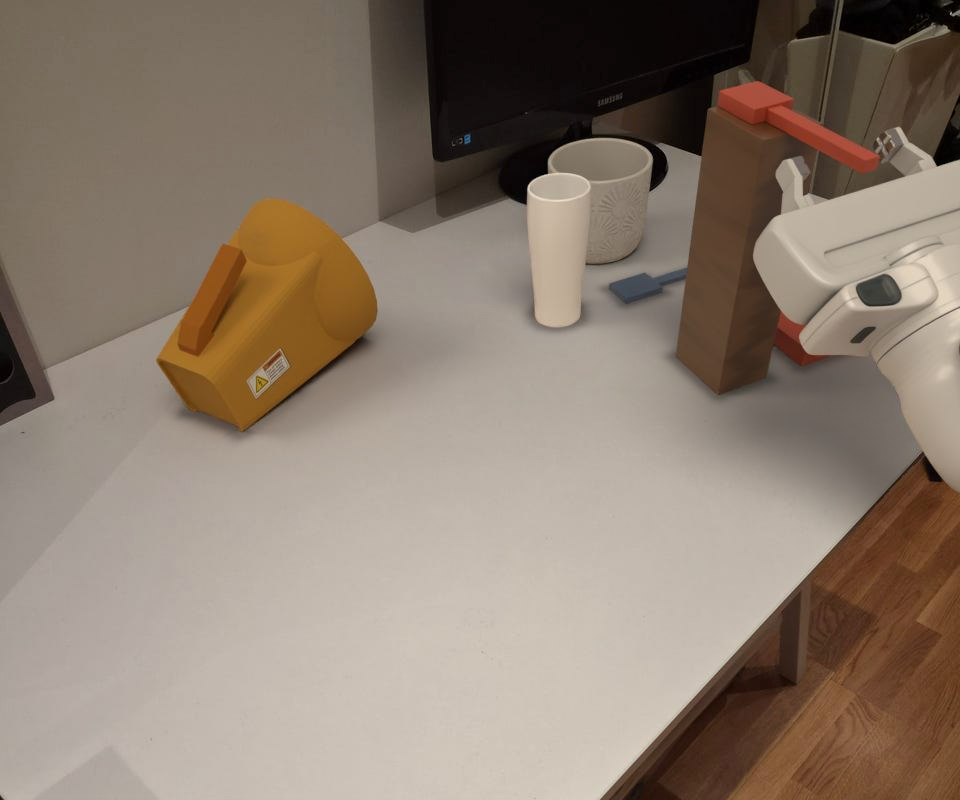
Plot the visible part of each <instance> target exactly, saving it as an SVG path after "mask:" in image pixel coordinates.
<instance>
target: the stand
mask: <svg viewBox="0 0 960 800" xmlns="http://www.w3.org/2000/svg"><path fill="white" fill-rule="evenodd" d="M792 111H793V112H795V113H797V114H799V115H801V116H803V117H805V118H807V119H809V120H811V121H813V122H815V123H816V124H818V125H820V126H822V127H824V123H823V122H821V121H819V120H817V119H816V118H813V117H812V116H809V115H807V114H806V113H803V112H802V111H800V110H797V109H796V108H794V107H792ZM703 134H704V135H703V143H702V150H701V158H700V167H699V173H698V182H697V190H696V197H695V204H694V213H693V220H692V227H691V235H690V244H689V250H688V256H687V257H688V258H687V264H686V266H687V267H686V268H687V273H686V279H685V281H684V288H683V296H682V305H681V310H680V311H681V312H680V319H679V327H678V333H677V334H678V336H677V343H676V351H675V359H677V360H678V361H679V362H680V363H681V364H682V365H684V367H686V368H687V369H688V370H689V371H690V372H691V373H692V374H694V375H695V376H696V377H697V378H698V379H699V380H700V381H701V382H702V383H703V384H705V385H706V387H708V388H709V389H710V390H711V391H713V392H714V393H715V394H716V395H717V396H720V395H723V394H726V393H728V392H731V391H734V390H737V389H740V388H742V387H743V388H744V387H746V386H748V385H750V384H755V383H756V382H759V381H763V380H765V379H767V375H768V371H769V367H770V362H771V358H772V354H773V353H772V352H773V350H774V340H775V336H776V332H777V327H778V323H779V318H780V314H781V310H780V308H779V307H778V305H777V304H776V302H775V301H774V299H773V297H772V296H771V294H770V292H769V291H768V289H767V287H766V285H765V283H764V282H763V280H762V278H761V276H760V274H759V272H758V270H757V268H756V265H755V263H754V259H753V252H754V247H755V243H756V241H757V239H758V238H759V236H760V235H761V233H762V232H763V230H764V229H765V228H766V226H767V225H768V224H769V222H770V221H771V220H772V219H773V218H774V217H776V216H778V215H781V208H782V195H783V190H782V188H781V187H780V185H779V183H778V181H777V179H776V170H777V169H778V167H779V166H780V164H781V163H782V161H783V160H787V159H790V158H794V157H797V156H802V157H803V158H804V163H805V164H806V165H807V166H808V168H809V170H810V174H809V175H808V177H807V178H806V179H805V180H804V181H803V197H804V195H807V194H809V189H810V185H811V180H812V177H813V173H814V172H813V171H814V168H815V163H816V160H817V155H818V152H819V150H817V149H815V148H813V147H812V146H810V145H808V144H806V143H804V142H802V141H800V140H799V139H797V138H795V137H793V136H791V135H789V134H788V133H786V132H784V131H782V130H780V129H778V128H776V127H775V126H773V125H771V124H769V123H767V122H766V121H764V122H760V123H757V124H753V125H751V124H750V123H748V122H746V121H744V120H742V119H741V118H739V117H737V116H735V115H733V114H732V113H730V112H728V111H726V110H724V109H723V108H721V107H719V106H718V105H716V106H713V107H710V108H708V109H707V112H706V119H705V128H704V133H703Z"/></svg>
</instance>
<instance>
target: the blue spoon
mask: <svg viewBox="0 0 960 800" xmlns="http://www.w3.org/2000/svg"><path fill="white" fill-rule="evenodd" d="M686 273H687V267H685V268H681V269H678V270H675V271H672V272H668V273H665V274H662V275H658V276H655V277H651V276H650V275H649V274H647V273H646V272H642V273H639V274H635V275H633V276H629V277H626V278H623V279H619V280H616V281H613V282H610V283H609V284H608V285H609V286H608V290H610V291H611V293H612V294H614V295H615V296H616V297H617V298H618V299H620V300H621V301H622V302H623V303H624V304H626V305H627V304H631V303H634V302H637V301H640V300H644V299H646V298H649V297H650V298H651V297H653V296H656V295H659V294H663V289H664V286H667V285H669V284H673V283H676V282H679V281H682V280H684V279H685V280H686Z"/></svg>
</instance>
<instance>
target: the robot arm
mask: <svg viewBox="0 0 960 800" xmlns="http://www.w3.org/2000/svg"><path fill="white" fill-rule="evenodd" d="M872 150H873V151H874V152H873V153H875V154H877V155H879V156H880V158H879V163H880V164H885V163H890V165H892V166H893V167H894V168H895V169H896V170H898V172H900V173H901V174H902V175H903V176H902V177H899V178H896V179H892V180H889V181H886V182H883V183H879V184H877V185H876V184H875V185H873V186H869V187H867V188H863V189H860V190H857V191H854V192H850V193H846V194H844V195H841V196H837V197H833V198H831V199H827V200H824V201H821V202H817V203H815V201H814V199H813V198H812V195H811V194H809V193H808V194H807V195H804V197H803V181H804V180H805V179H806V178H807V177H808V175H809V174H810V170H809V168H808V166H807V165H806V164H805V163H804V158H803V157H802V156H797V157H794V158H790V159H787V160H783V161H782V163H781V164H780V166H779V167H778V169H777V170H776V179H777V181H778V183H779V185H780V187H781V188H782V190H783V195H782V208H781V215H778V216H776V217H774V218H773V219H772V220H771V221H770V222H769V224H768V225H767V226H766V228H765V229H764V230H763V232H762V233H761V235H760V236H759V238H758V239H757V241H756V243H755V247H754V252H753V259H754V263H755V265H756V268H757V270H758V272H759V274H760V276H761V278H762V280H763V282H764V283H765V285H766V287H767V289H768V291H769V292H770V294H771V296H772V297H773V299H774V301H775V302H776V304H777V305H778V307H779V308H780V310H781V311H782V312H783V314H784V315H785V316H786V317H787V318H788V319H790V320H791V321H793V322H794V323H797V324H800V325H806V326H805V327H804V329H803V330H802V331H801V333H800V334H799V340H800V342H801V345H802V346H803V348H804V350H805V351H806V352H807V353H808V354H811V355H833V356H857V357H863V358H866V357H867V358H868V357H872V359H873V360H874V362H875V365H876V367H877V368H878V370H879V371H880V373H881V374H882V376H885V378H887V380H889V381H890V383H891V384H892V385H893V387H894V389H895V391H896V393H897V395H898V399H899V404H900V410H901V411H900V412H901V414H902V416H903V419H904V421H905V422H906V424H907V426H908V428H909V429H910V432H911V433H912V435H913V437H914V438H915V440H916V442H917V444H918V445H919V448H920V449H921V450H922V452H923V454H924V455H925V457H926V459H927V460H928V462H929V463H930V464H931V466H932V467H933V469H934V470H935V472H936V473H937V474H938V475H939V477H940V478H941V479H942V481H944V483H945V484H946V485H947V486H948V487H949V488H950V489H952V490H953V491H955V492H956V493H959V494H960V159H958V160H953V161H951V162H948V163H945V164H941V165H939V166H937V164H936V162H935V160H934V158H933V156H932V155H930V154H928V153H927V152H925V151H924V150H923V149H921V148H919V147H918V146H916V145H915V144H913V143H912V142H909V140H908V138H907V136H906V135H905V133H904V131H903V129H902V128H901V127H900V126H896V127H893V128H890V129H885V130H883V131H881V132H880V134H879V135H878V137H876V138H875V140H874V141H873V143H872Z"/></svg>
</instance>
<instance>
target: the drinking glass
mask: <svg viewBox="0 0 960 800" xmlns="http://www.w3.org/2000/svg"><path fill="white" fill-rule="evenodd" d="M590 220H591V184H590V182H589V181H588V180H587V179H585V178H584V177H582V176H579V175H576V174H571V173H552V174H548V173H547V174H544V175H540V176H538V177H536V178H534V179H532V180H531V181H530V182H529V184H528V185H527V189H526V227H527V228H526V229H527V240H528V249H529V260H530V269H531V279H532V288H533V299H534V318H535V320H536V321H537V322H538V323H539V324H540V325H543V326H544V327H549V328H564V327H565V328H566V327H568V326H571V325H574V324H576V323H577V322H578V321H579V319H580V318H581V314H582V298H583V297H582V296H583V290H584V289H583V287H584V279H585V273H586V264H587V263H586V256H587V248H588V240H589V232H590Z"/></svg>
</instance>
